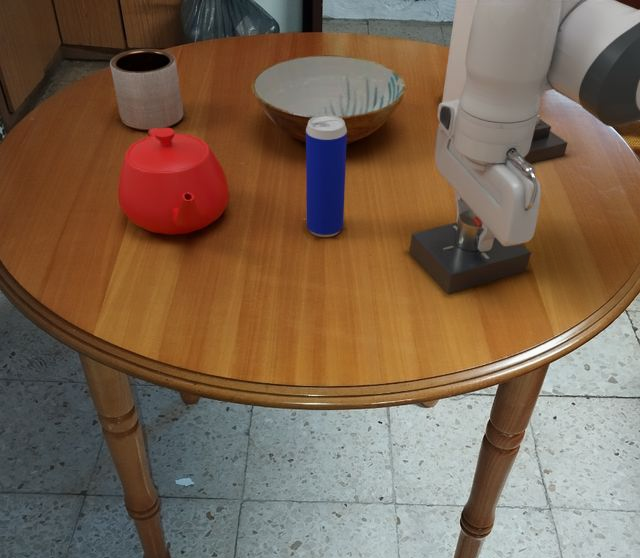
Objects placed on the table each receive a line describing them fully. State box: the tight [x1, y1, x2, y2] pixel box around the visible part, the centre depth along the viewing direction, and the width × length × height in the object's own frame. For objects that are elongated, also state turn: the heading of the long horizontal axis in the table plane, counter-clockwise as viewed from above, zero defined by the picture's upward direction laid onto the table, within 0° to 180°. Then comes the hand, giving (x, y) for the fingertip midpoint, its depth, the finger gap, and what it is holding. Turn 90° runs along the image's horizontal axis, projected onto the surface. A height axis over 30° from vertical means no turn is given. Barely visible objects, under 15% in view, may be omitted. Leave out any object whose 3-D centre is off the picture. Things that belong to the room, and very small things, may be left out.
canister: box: [441, 0, 478, 103], centre depth 116 cm, size 14×14×20 cm
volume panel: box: [409, 222, 532, 295], centre depth 89 cm, size 12×10×3 cm
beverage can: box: [305, 115, 347, 238], centre depth 90 cm, size 5×5×15 cm
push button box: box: [523, 118, 568, 164], centre depth 111 cm, size 10×12×4 cm
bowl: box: [250, 54, 407, 146], centre depth 113 cm, size 25×25×8 cm
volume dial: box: [455, 210, 484, 251], centre depth 87 cm, size 4×4×4 cm
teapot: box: [117, 127, 231, 236], centre depth 93 cm, size 25×16×12 cm, turn 21°
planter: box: [109, 48, 184, 132], centre depth 115 cm, size 11×11×10 cm
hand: (472, 236), depth 88 cm, fingers closed on volume dial, 4 cm apart
